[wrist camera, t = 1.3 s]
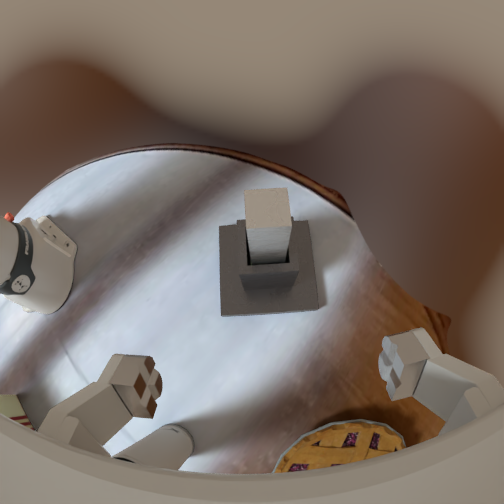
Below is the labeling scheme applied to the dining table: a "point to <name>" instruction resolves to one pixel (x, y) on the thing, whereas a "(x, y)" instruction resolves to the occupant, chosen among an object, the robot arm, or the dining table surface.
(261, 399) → the dining table surface
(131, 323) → the dining table surface
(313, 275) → the grey square socket stand
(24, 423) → the gift box
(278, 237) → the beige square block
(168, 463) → the travel mug
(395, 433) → the pie
